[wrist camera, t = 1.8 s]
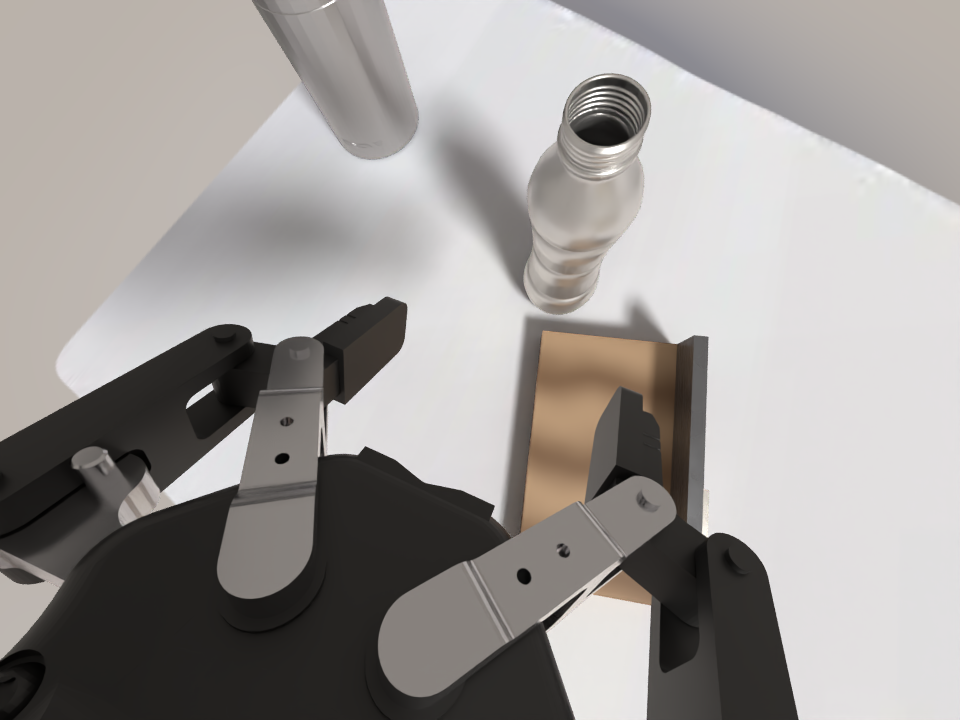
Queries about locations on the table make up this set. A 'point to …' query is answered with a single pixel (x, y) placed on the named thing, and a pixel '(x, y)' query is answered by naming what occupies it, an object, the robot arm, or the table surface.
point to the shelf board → (591, 421)
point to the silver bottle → (585, 190)
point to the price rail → (690, 433)
